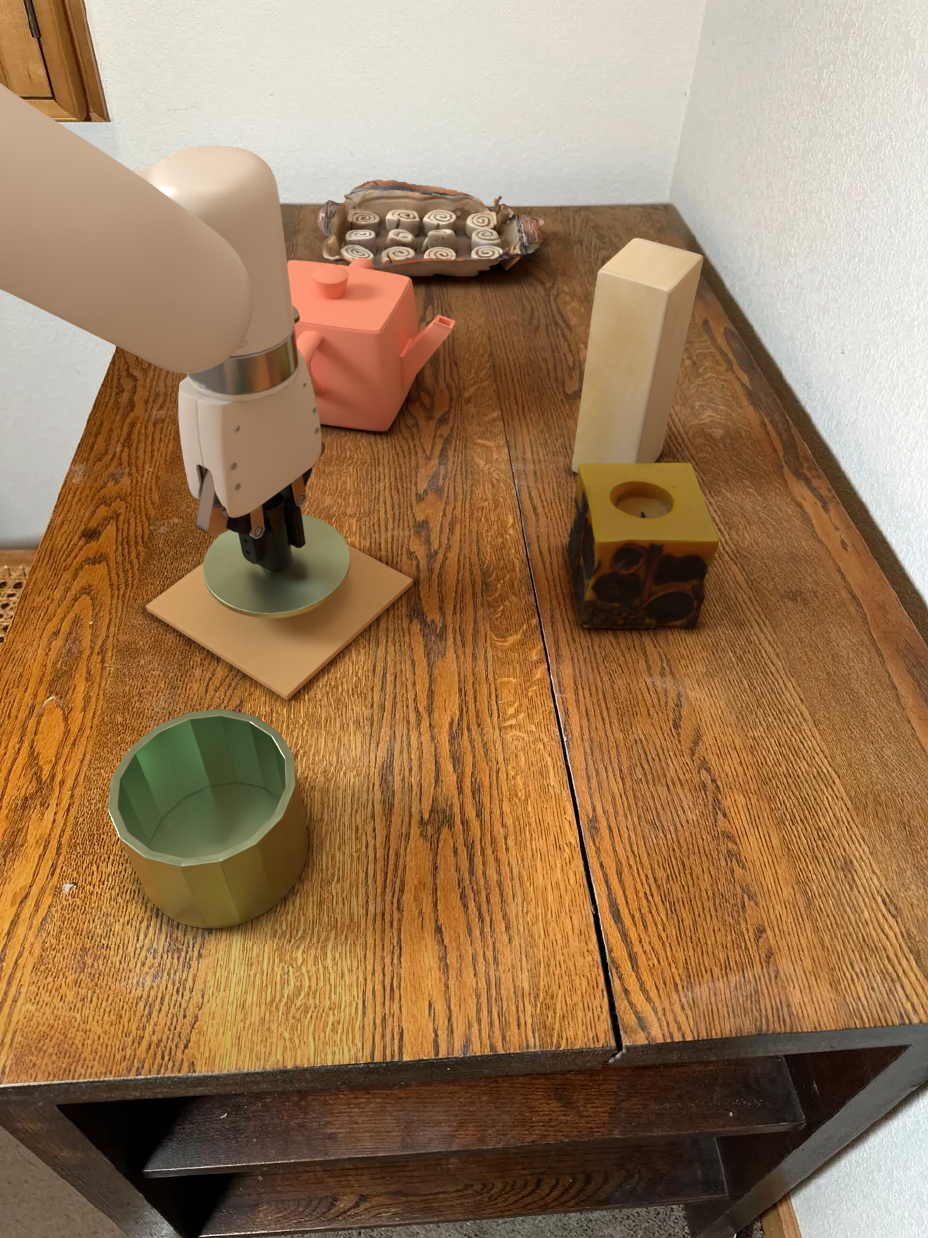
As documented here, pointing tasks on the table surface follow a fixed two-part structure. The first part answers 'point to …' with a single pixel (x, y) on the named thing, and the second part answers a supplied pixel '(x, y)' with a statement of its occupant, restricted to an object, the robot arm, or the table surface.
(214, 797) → the pot
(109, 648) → the table surface
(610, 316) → the tall beige wooden block
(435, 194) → the baking tray
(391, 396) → the teapot
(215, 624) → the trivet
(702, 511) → the candle
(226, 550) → the lid
